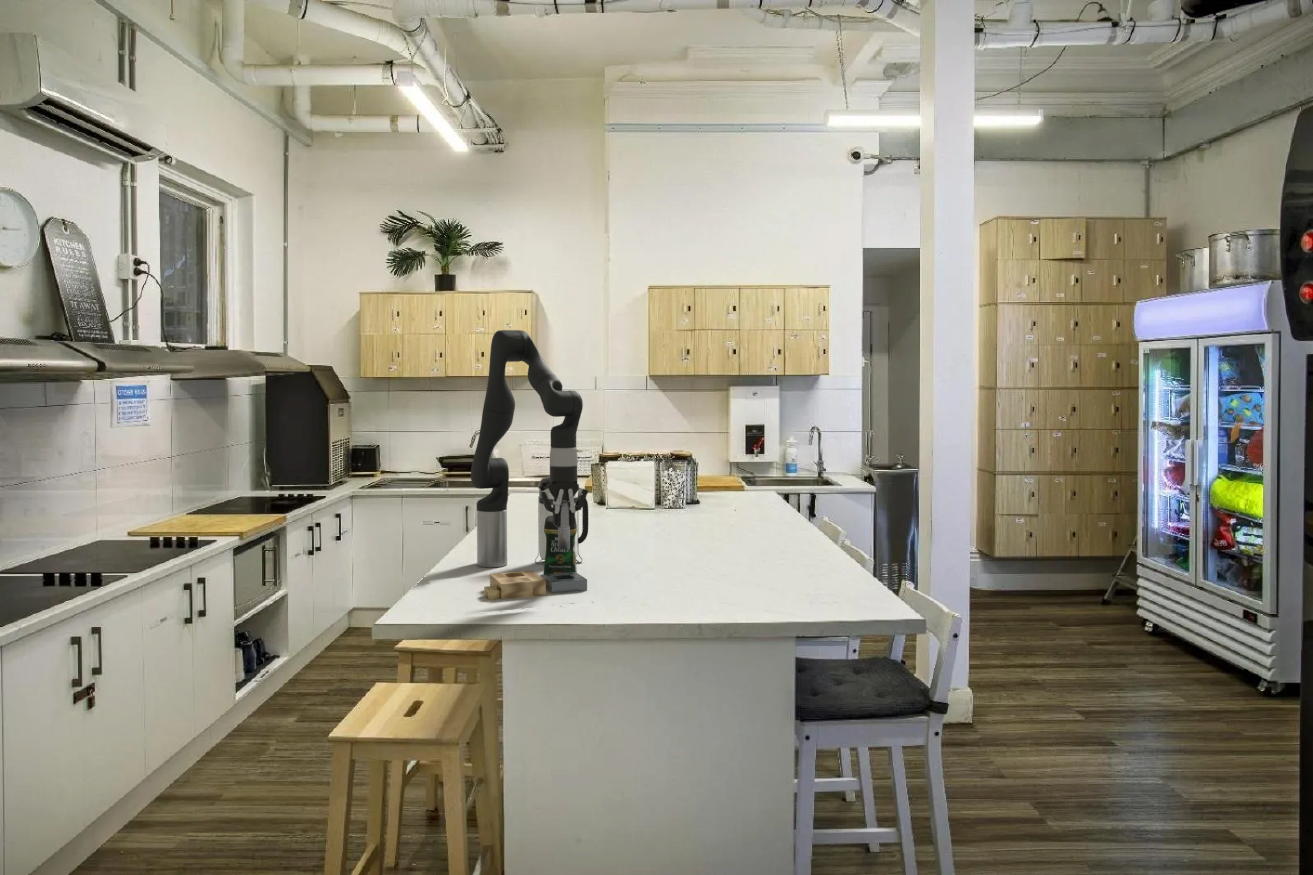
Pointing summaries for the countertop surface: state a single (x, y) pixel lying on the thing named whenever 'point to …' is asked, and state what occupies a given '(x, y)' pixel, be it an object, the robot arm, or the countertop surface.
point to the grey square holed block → (565, 582)
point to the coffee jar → (558, 550)
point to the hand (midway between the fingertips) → (563, 526)
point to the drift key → (492, 592)
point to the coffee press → (544, 513)
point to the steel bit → (564, 526)
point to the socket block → (518, 584)
